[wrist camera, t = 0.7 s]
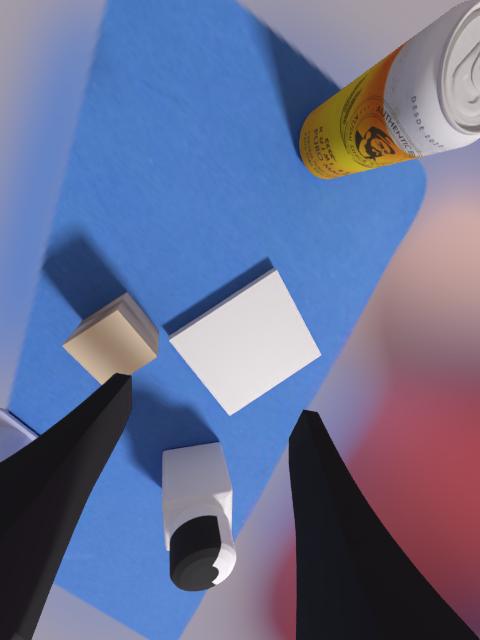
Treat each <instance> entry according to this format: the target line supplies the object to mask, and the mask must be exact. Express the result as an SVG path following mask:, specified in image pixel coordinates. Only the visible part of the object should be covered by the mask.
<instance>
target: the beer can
mask: <svg viewBox="0 0 480 640" xmlns="http://www.w3.org/2000/svg"><path fill="white" fill-rule="evenodd" d="M479 138H480V0H470V1H466V2H463V3H460V4H458V5H457V6H455V7H453V8H452V9H451V10H449V11H448V12H446V13H445V14H444V15H442V16H441V17H440V18H438V19H437V20H436V21H434V22H433V23H432V24H430V25H429V26H427V27H426V28H425V29H423V30H422V31H421V32H419V33H418V34H417V35H415V36H414V37H412V38H411V39H410V40H408V41H407V42H406V43H405V44H403V45H402V46H400V47H399V48H398V49H396V50H395V51H394V52H392V53H391V54H389V55H388V56H387V57H385V58H384V59H383V60H381V61H380V62H379V63H377V64H376V65H374V66H373V67H372V68H370V69H369V70H368V71H366V72H365V73H364V74H362V75H361V76H359V77H358V78H357V79H355V80H354V81H353V82H351V83H350V84H348V85H347V86H346V87H344V88H343V89H342V90H340V91H339V92H338V93H336V94H335V95H333V96H332V97H331V98H329V99H328V100H327V101H325V102H324V103H323V104H321V105H320V106H319V107H317V108H316V109H315V110H313V111H312V112H311V113H310V114H309V116H308V117H307V119H306V120H305V122H304V124H303V127H302V129H301V133H300V140H299V147H300V154H301V158H302V160H303V163H304V164H305V166H306V168H307V169H308V170H309V171H310V172H311V173H312V174H313V175H315V176H317V177H319V178H322V179H332V178H336V177H341V176H345V175H349V174H353V173H357V172H361V171H365V170H369V169H374V168H378V167H382V166H386V165H390V164H394V163H398V162H402V161H407V160H411V159H415V158H419V157H423V156H427V155H431V154H435V153H440V152H444V151H447V150H452V149H455V148H460V147H464V146H466V145H469V144H471V143H473V142H474V141H476V140H477V139H479Z"/></svg>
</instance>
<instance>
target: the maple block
mask: <svg viewBox="0 0 480 640" xmlns="http://www.w3.org/2000/svg"><path fill="white" fill-rule="evenodd" d="M158 340H159V330H158V329H157V328H156V327H155V325H154V324H153V323H152V322H151V320H150V319H149V318H148V317H147V316H146V314H145V313H144V312H143V311H142V309H141V308H140V307H139V306H138V304H137V303H136V302H135V301H134V299H133V298H132V297H131V296H130V294H129V293H128V292H126V293H124V294H123V295H121V296H120V297H118V298H117V299H115V300H114V301H112V302H110V303H109V304H107V305H106V306H104V307H103V308H101V309H100V310H98V311H97V312H95V313H93V314H92V315H90V316H89V317H87V318H86V319H84V320H83V321H82V322H81V323H80V324H79V326H78V327H77V328H76V329H75V331H74V332H73V333H72V334H71V335H70V337H69V338H68V339H67V340H66V342H65V343H64V344H63V345H62V346H63V347H64V348H65V349H66V350H67V351H68V352H69V353H70V354H71V355H72V356H73V357H74V358H75V359H76V360H77V361H78V362H79V363H80V364H81V365H82V366H83V367H84V368H85V369H86V370H87V371H88V372H89V373H90V374H91V375H92V376H93V377H94V378H95V379H96V380H97V381H98V382H99V383H100V384H101V385H103V384H104V383H105V382H106V381H107V380H108V379H109V378H110V377H111V376H112V375H113V374H115V373H121V374H126V375H130V374H132V373H134V372H135V371H137V370H138V369H140V368H141V367H143V366H144V365H146V364H147V363H149V362H150V361H152V360H153V359H155V358H156V357H158Z"/></svg>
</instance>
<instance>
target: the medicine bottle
mask: <svg viewBox="0 0 480 640" xmlns="http://www.w3.org/2000/svg"><path fill="white" fill-rule="evenodd" d="M162 511H163V523H164V536H165V548H166V550H167V551H170V578H171V580H172V582H173V583H174V584H175V585H176V586H177V587H178V588H180V589H182V590H185V591H201V590H205V589H209V588H211V587H213V586H215V585H217V584H218V583H220V582H222V581H223V580H224V579H225V578H226V577H227V576H228V575H229V574H230V573H231V571H232V569H233V567H234V565H235V561H236V553H235V548H234V543H233V538H232V533H231V520H232V485H231V481H230V477H229V473H228V469H227V465H226V461H225V457H224V453H223V449H222V445H221V443H220V442H216V443H210V444H203V445H197V446H190V447H184V448H177V449H171V450H165V451H164V452H163V458H162Z"/></svg>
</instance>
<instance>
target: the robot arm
mask: <svg viewBox="0 0 480 640" xmlns="http://www.w3.org/2000/svg"><path fill="white" fill-rule="evenodd" d="M131 410H132V378H131V375H126V374H121V373H115V374H113V375H112V376H111V377H110V378H109V379H108V380H107V381H106V382H105V383H104V384H103V385H102V386H101V387H99V388H98V389H97V390H96V391H95V392H94V393H93V394H92V395H90V396H89V397H88V398H87V399H86V400H85V401H83V402H82V403H81V404H80V405H79V406H77V407H76V408H75V409H74V410H73V411H71V412H70V413H69V414H68V415H67V416H65V417H64V418H63V419H61V420H60V421H59V422H57V423H56V424H55V425H54V426H52V427H51V428H50V429H48V430H47V431H46V432H44V433H43V434H42V435H40V436H38V435H37V434H35V433H34V432H33V431H31V430H30V429H29V428H27V427H26V426H25V425H24V424H22V423H21V422H20V421H18V420H17V419H16V418H15V417H13V416H12V415H11V414H9V413H8V412H7V411H5V410H4V409H2V408H0V640H31V639H32V637H33V634H34V631H35V629H36V626H37V623H38V620H39V618H40V615H41V613H42V610H43V607H44V605H45V602H46V599H47V596H48V594H49V591H50V589H51V586H52V584H53V581H54V579H55V576H56V574H57V571H58V569H59V566H60V564H61V561H62V558H63V556H64V554H65V551H66V549H67V546H68V544H69V541H70V539H71V537H72V534H73V532H74V529H75V527H76V525H77V522H78V520H79V518H80V515H81V513H82V511H83V508H84V506H85V504H86V501H87V499H88V497H89V495H90V493H91V491H92V489H93V487H94V485H95V483H96V481H97V479H98V478H99V476H100V474H101V472H102V470H103V468H104V466H105V464H106V463H107V461H108V459H109V457H110V455H111V453H112V451H113V449H114V448H115V446H116V444H117V442H118V440H119V438H120V436H121V434H122V432H123V430H124V427H125V425H126V422H127V420H128V417H129V415H130V412H131ZM289 471H290V480H291V490H292V500H293V509H294V518H295V530H296V562H297V611H296V612H297V613H296V640H479V638H478V637H477V635H476V634H474V632H473V631H472V630H471V629H470V628H469V627H468V626H467V625H466V624H465V622H464V621H463V620H462V619H461V618H460V617H459V616H458V615H457V614H456V613H455V612H454V611H453V609H452V608H451V607H450V606H449V605H448V604H447V603H446V602H445V601H444V600H443V599H442V598H441V596H440V595H439V594H438V593H437V592H436V591H435V589H434V588H433V587H432V586H431V585H430V583H429V582H428V581H427V580H426V579H425V578H424V577H423V575H422V574H421V573H420V572H419V571H418V569H417V568H416V567H415V566H414V565H413V563H412V562H411V560H410V559H409V558H408V557H407V555H406V554H405V553H404V552H403V550H402V549H401V548H400V547H399V545H398V544H397V543H396V541H395V540H394V539H393V538H392V536H391V535H390V534H389V532H388V531H387V529H386V528H385V527H384V525H383V524H382V523H381V521H380V520H379V518H378V517H377V515H376V514H375V512H374V511H373V510H372V508H371V507H370V505H369V504H368V502H367V501H366V499H365V497H364V496H363V494H362V493H361V491H360V489H359V488H358V486H357V484H356V483H355V481H354V480H353V478H352V476H351V475H350V473H349V471H348V469H347V468H346V466H345V464H344V462H343V461H342V458H341V457H340V455H339V453H338V451H337V449H336V447H335V445H334V444H333V442H332V440H331V438H330V436H329V434H328V432H327V430H326V428H325V426H324V424H323V422H322V420H321V418H320V416H319V414H318V413H317V412H314V411H308V410H303V411H302V413H301V415H300V417H299V419H298V421H297V423H296V425H295V427H294V429H293V431H292V433H291V435H290V437H289Z"/></svg>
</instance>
